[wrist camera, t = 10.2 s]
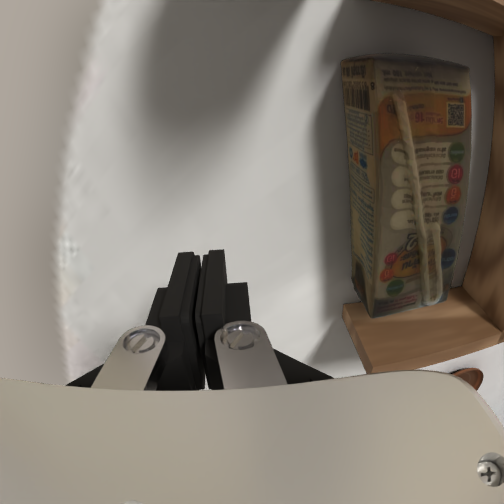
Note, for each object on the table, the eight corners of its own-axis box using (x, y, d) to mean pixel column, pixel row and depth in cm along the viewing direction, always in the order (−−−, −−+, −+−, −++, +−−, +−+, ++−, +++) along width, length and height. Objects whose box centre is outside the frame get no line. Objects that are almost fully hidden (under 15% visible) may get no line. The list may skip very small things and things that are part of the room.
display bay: (471, 294, 30) (515, 347, 22) (341, 316, 30) (373, 391, 22) (505, 28, 17) (578, 31, 9) (351, -20, 16) (414, -62, 8)
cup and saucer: (489, 361, 38) (508, 388, 33) (447, 410, 44) (460, 436, 38) (445, 360, 36) (465, 393, 31) (398, 414, 41) (411, 446, 36)
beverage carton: (344, 282, 28) (370, 330, 23) (332, 56, 19) (369, 47, 14) (419, 267, 28) (453, 307, 23) (423, 60, 19) (476, 60, 14)
